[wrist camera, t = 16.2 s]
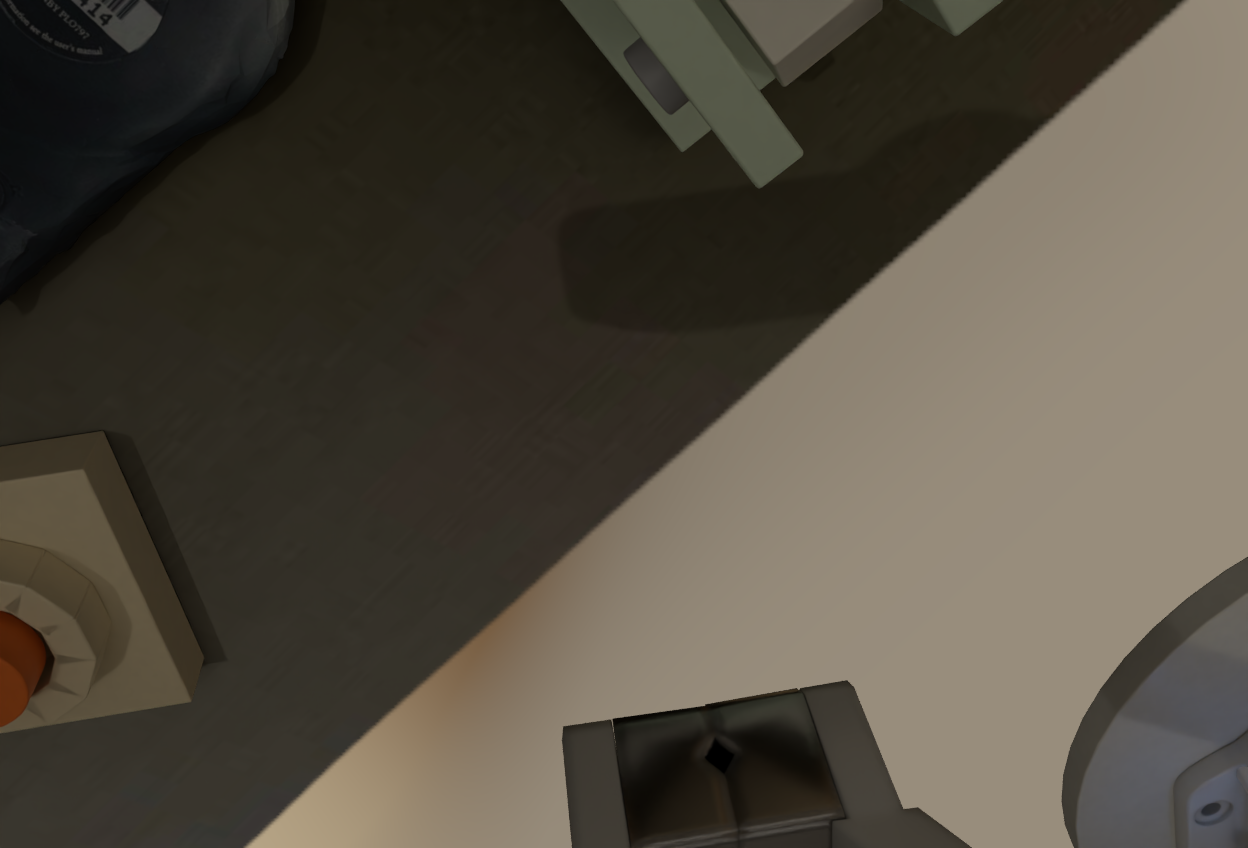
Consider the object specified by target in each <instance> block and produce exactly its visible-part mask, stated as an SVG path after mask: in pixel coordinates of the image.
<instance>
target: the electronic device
mask: <svg viewBox="0 0 1248 848" xmlns="http://www.w3.org/2000/svg"><path fill="white" fill-rule="evenodd" d="M294 6H295V0H0V304H2V303H3V302H4V301H5V300H7V299H8V298H9V297H10V295H12V294H14V293H15V292H16V291H17V290H18V289H19V288H20V287H21V286H22V284H23V283H25V282H26V281H27V280H29V279H30V278H32V277H33V276H35V275H36V274H37V273H38V272H39V271H40V270H41V269H42V268H43V266H44V265H46V264H47V263H48V262H49V261H50V260H51V259H52V258H53V257H54V256H56V255H57V254H59V253H61V252H64V251H66V250H69V249H70V248H71V247H72V246H73V244H74V243H75V242H76V241H77V239H78V238H79V236H80V235H81V233H82V232H83V230H85V229H86V228H87V227H88V226H89V225H91V224H92V223H93V222H95V221H96V220H97V218H98V217H99V216H100V215H102V214H103V213H104V212H105V211H106V210H107V209H108V208H110V207H111V206H112V205H113V204H114V203H116V202H117V201H118V200H120V198H121V197H122V196H123V195H124V194H125V193H126V192H127V191H129V190H130V189H131V188H132V187H133V186H134V185H136V184H137V183H138V182H139V181H140V180H141V179H142V178H144V177H145V176H146V175H147V174H148V173H149V172H150V171H152V170H153V169H154V168H155V167H156V166H157V165H158V164H160V163H161V162H162V161H163V160H164V159H165V158H166V157H167V156H168V155H169V154H171V153H172V152H173V151H174V150H175V149H176V148H177V147H179V146H181V145H182V144H183V143H184V142H186V141H187V140H189V139H190V138H192V137H193V136H196V135H199V134H202V133H205V132H207V131H210V130H212V129H215V128H217V127H219V126H221V125H223V124H225V123H227V122H228V121H229V120H230V119H232V118H233V117H234V116H235V115H236V114H237V113H239V112H240V111H241V110H242V109H243V108H244V107H245V106H246V105H247V104H248V103H249V102H250V101H251V100H252V99H253V98H254V97H255V96H256V95H257V94H258V92H259V91H260V89H261V88H262V87H263V85H264V84H265V83H266V81H267V80H268V79H269V78H270V77H272V76H273V75H274V74H276V69H277V65H278V61H279V59H282V58H283V56H284V53H285V51H286V49H287V46H288V39H289V35H290V32H291V30H292V28H293V18H294Z"/></svg>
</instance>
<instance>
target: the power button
mask: <svg viewBox="0 0 1248 848" xmlns="http://www.w3.org/2000/svg"><path fill="white" fill-rule="evenodd" d="M45 664H46V651H45V647H44V644H43V642H42V640H41V638H40V637H39V635H38V634H37V633H36V632H35V631H34V630H33V629H32V628H31V627H30V626H29V625H28V624H26V623H25V622H24V621H22V620H21V619H19V618H17V617H15V616H13V615H11V614H9V613H6V612H3V611H0V727H3V726H5V725H7V724H9V723H11V722H12V721H14V720H15V719H17V718H18V717H19V716H20V715H21V714H22V713H23V712H24V710H25V709H26V707H27V705H28V703H29V700H30V698H31V696H32V694H33V692H34V689H35V687H36V685H37V683H38V681H39V678H40V676H41V674H42V672H43V670H44V667H45Z"/></svg>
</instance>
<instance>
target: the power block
mask: <svg viewBox="0 0 1248 848" xmlns="http://www.w3.org/2000/svg"><path fill="white" fill-rule="evenodd" d="M0 611H3V612H6V613H9V614H11V615H13V616H15V617H17V618H19V619H21V620H22V621H24V622H25V623H26V624H28V625H29V626H30V627H31V628H32V629H33V630H34V631H35V632H36V633H37V634H38V635H39V637H40V638H41V640H42V642H43V644H44V647H45V651H46V664H45V667H44V670H43V672H42V674H41V676H40V678H39V681H38V683H37V685H36V687H35V689H34V692H33V694H32V696H31V698H30V700H29V703H28V705H27V707H26V709H25V710H24V712H23V713H22V714H21V715H20V716H19V717H18V718H17V719H15V720H14V721H12V722H11V723H9V724H7V725H5V726H3V727H0V733H6V732H12V731H18V730H24V729H30V728H36V727H42V726H48V725H54V724H60V723H67V722H73V721H79V720H85V719H91V718H97V717H103V716H109V715H115V714H121V713H127V712H133V711H139V710H146V709H152V708H158V707H164V706H170V705H176V704H182V703H188V702H191V701H192V699H193V695H194V692H195V688H196V685H197V681H198V678H199V674H200V671H201V667H202V664H203V660H204V656H203V654H202V651H201V649H200V647H199V645H198V642H197V640H196V638H195V636H194V633H193V631H192V629H191V627H190V625H189V622H188V620H187V618H186V616H185V613H184V611H183V609H182V607H181V604H180V602H179V600H178V598H177V595H176V593H175V591H174V589H173V586H172V584H171V582H170V580H169V577H168V575H167V573H166V571H165V568H164V566H163V564H162V562H161V559H160V557H159V555H158V553H157V550H156V548H155V546H154V544H153V541H152V539H151V537H150V535H149V532H148V530H147V528H146V526H145V523H144V521H143V519H142V517H141V514H140V512H139V510H138V508H137V505H136V503H135V501H134V499H133V496H132V494H131V492H130V490H129V487H128V485H127V483H126V481H125V478H124V476H123V474H122V472H121V470H120V467H119V465H118V463H117V461H116V458H115V456H114V454H113V452H112V449H111V447H110V445H109V443H108V440H107V438H106V436H105V434H104V432H103V431H98V432H92V433H85V434H79V435H72V436H66V437H60V438H53V439H47V440H40V441H34V442H27V443H21V444H14V445H8V446H2V447H0Z"/></svg>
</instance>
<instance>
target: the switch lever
mask: <svg viewBox="0 0 1248 848" xmlns="http://www.w3.org/2000/svg"><path fill="white" fill-rule="evenodd" d="M719 1H720V2H721V4H722V5H723V6H724V8H725V9H726V10H727V12H728V13H729V15H730V16H731V17H732V19H733V20H734V21H735V23H736V24H737V25H738V27H739V28H740V29H741V31H742V32H743V34H744V35H745V36H746V38H747V39H748V40H749V42H750V43H751V44H752V46H753V47H754V49H755V50H756V51H757V53H758V54H759V55H760V57H761V58H762V59H763V61H764V62H765V63H766V65H767V66H768V68H769V69H770V70H771V72H772V73H773V74H774V76H775V77H776V78H777V80H778V81H779V82H780V84H781V85H782V86H783V87H785V86H787V85H788V84H790V83H791V82H792V81H793V80H795V79H796V78H797V77H798V76H800V75H801V74H802V73H803V72H805V71H806V70H807V69H808V68H810V67H811V66H812V65H813V64H815V63H816V62H817V61H818V60H820V59H821V58H822V57H823V56H825V55H826V54H827V53H828V52H830V51H831V50H832V49H833V48H835V47H836V46H837V45H839V44H840V43H841V42H842V41H844V40H845V39H846V38H847V37H849V36H850V35H851V34H852V33H854V32H855V31H856V30H857V29H859V28H860V27H861V26H862V25H864V24H865V23H866V22H867V21H869V20H870V19H871V18H872V17H874V16H875V15H876V14H877V13H879V12H880V11H881V10H882V4H883V0H719Z"/></svg>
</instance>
